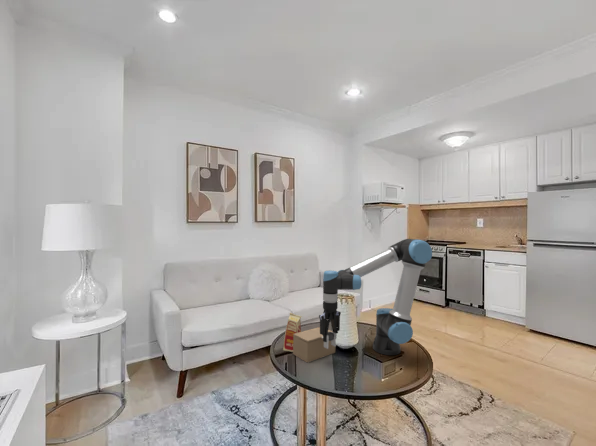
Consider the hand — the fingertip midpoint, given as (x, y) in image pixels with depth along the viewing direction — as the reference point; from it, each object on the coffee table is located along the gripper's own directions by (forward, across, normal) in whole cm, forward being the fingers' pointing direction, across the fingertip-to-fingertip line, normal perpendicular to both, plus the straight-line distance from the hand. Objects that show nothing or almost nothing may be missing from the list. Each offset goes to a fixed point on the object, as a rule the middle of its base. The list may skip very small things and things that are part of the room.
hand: (329, 346), depth 150 cm
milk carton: (+8, +5, -24) cm, 26 cm away
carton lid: (-2, 0, -8) cm, 8 cm away
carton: (+8, 0, -12) cm, 14 cm away
